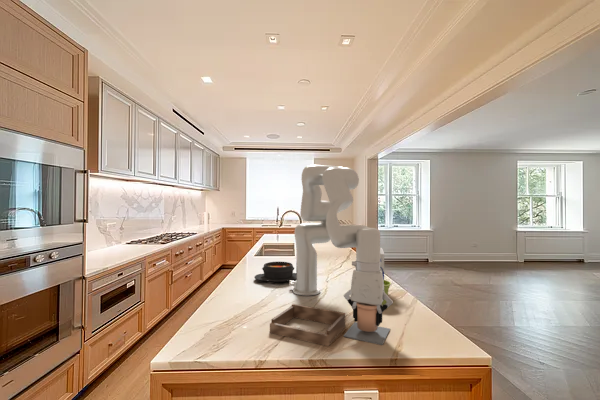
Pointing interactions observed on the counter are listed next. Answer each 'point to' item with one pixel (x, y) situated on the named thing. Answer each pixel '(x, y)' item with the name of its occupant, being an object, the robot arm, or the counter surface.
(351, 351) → the counter surface
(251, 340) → the counter surface
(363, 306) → the terracotta pot
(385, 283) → the plant pot
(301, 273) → the robot arm
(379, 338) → the mat
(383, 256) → the milk carton
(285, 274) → the casserole
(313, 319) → the wooden tray
